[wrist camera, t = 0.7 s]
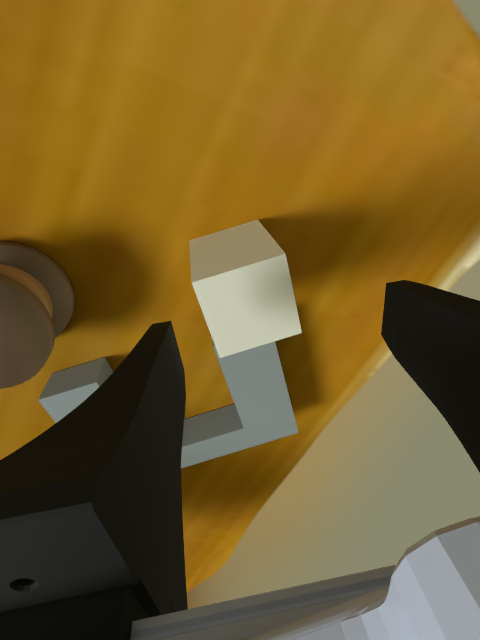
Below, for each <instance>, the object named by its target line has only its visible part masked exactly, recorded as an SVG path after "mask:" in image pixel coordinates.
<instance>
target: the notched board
mask: <svg viewBox="0 0 480 640" xmlns="http://www.w3.org/2000/svg"><path fill="white" fill-rule="evenodd" d="M212 342H213V347H214V350H215V353H216V355H217V358H218V361H219V363H220V366H221V369H222V371H223V374H224V377H225V379H226V382H227V385H228V387H229V390H230V393H231V395H232V398H233V401H234V403H235V404H233V405H229V406H226V407H223V408H220V409H216V410H213V411H210V412H206V413H203V414H200V415H197V416H193V417H190V418H187V419H184V428H183V441H182V454H181V468H185V467H188V466H191V465H194V464H198V463H201V462H204V461H208V460H211V459H214V458H217V457H221V456H224V455H227V454H230V453H234V452H237V451H240V450H243V449H247V448H250V447H253V446H257V445H260V444H263V443H266V442H270V441H273V440H276V439H279V438H283V437H286V436H289V435H293V434H296V433H299V432H298V428H297V425H296V421H295V417H294V413H293V409H292V405H291V401H290V398H289V394H288V390H287V386H286V382H285V378H284V374H283V370H282V367H281V363H280V359H279V355H278V351H277V347H276V343H275V341H274V342H271V343H268V344H264V345H261V346H258V347H255V348H251V349H248V350H245V351H242V352H238V353H235V354H232V355H229V356H225V357H222V358H219V355H218V352H217V349H216V347H215V344H214V341H213V339H212ZM112 373H113V370H112V369H111V367H110V365H109V364H108V362H107V360H106V358H105V357H104V358H100V359H97V360H94V361H91V362H87V363H84V364H81V365H78V366H74V367H71V368H68V369H65V370H61V371H58V372H55V373H52V375H51V377H50V378H49V380H48V382H47V384H46V386H45V388H44V390H43V392H42V394H41V396H40V398H39V402H40V403H41V404H42V406H43V407H44V408H45V410H46V411H47V412H48V413H49V415H50V416H51V417H52V419H53V420H54V421H55V422H56V423H57V422H58V421H60V420H61V419H62V418H63V417H65V416H66V415H67V414H69V413H70V412H71V411H72V410H74V409H75V408H76V407H77V406H79V405H80V404H81V403H82V402H83V401H85V400H86V399H87V398H88V397H89V396H90V395H91V394H92V393H93V392H94V391H96V390H97V389H98V388H99V387H100V386H101V385H102V384H103V383H104V382H105V381H106V380H107V379H108V378H109V376H110V375H111V374H112Z"/></svg>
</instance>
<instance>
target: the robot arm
mask: <svg viewBox="0 0 480 640" xmlns="http://www.w3.org/2000/svg"><path fill="white" fill-rule="evenodd" d="M381 335H382V337H383V338H384V340H385V342H386V344H387V345H388V347H389V349H390V350H391V352H392V354H393V355H394V357H395V358H396V359H397V361H398V362H399V363H400V364H401V366H402V367H403V368H404V369H405V370H406V372H407V373H408V374H409V375H410V377H411V378H413V380H414V381H415V382H416V383H417V385H418V386H419V387H420V388H421V390H422V391H423V392H424V393H425V394H426V396H427V397H428V398H429V399H430V400H431V401H432V403H433V404H434V405H435V406H436V407H437V409H438V410H439V411H440V413H441V414H442V415H443V417H444V418H445V419H446V421H447V422H448V424H449V425H450V427H451V428H452V430H453V431H454V433H455V434H456V436H457V437H458V439H459V440H460V441H461V443H462V445H463V446H464V448H465V450H466V451H467V453H468V454H469V456H470V458H471V459H472V461H473V462H474V464H475V466H476V467H477V469H478V470H479V472H480V301H478V300H475V299H471V298H468V297H464V296H461V295H458V294H454V293H451V292H448V291H444V290H441V289H438V288H434V287H431V286H428V285H424V284H420V283H416V282H412V281H407V280H402V281H396V282H390V283H386V292H385V302H384V312H383V322H382V332H381ZM185 400H186V391H185V374H184V368H183V364H182V360H181V356H180V353H179V349H178V345H177V341H176V338H175V334H174V330H173V327H172V323H171V321H168V322H162V323H156V324H152V325H151V326H150V328H149V329H148V330H147V332H146V333H145V334H144V335H143V337H142V338H141V339H140V341H139V342H138V343H137V345H136V346H135V347H134V348H133V350H132V351H131V352H130V354H129V355H128V356H127V357H126V358H125V360H124V361H123V362H122V363H121V364H120V365H119V366H118V367H117V369H116V370H115V371H114V372H113V373H112V374H111V375H110V376H109V378H108V379H107V380H106V381H105V382H104V383H103V384H102V385H101V386H100V387H99V388H98V389H97V390H96V391H94V392H93V393H92V394H91V395H90V396H89V397H88V398H87V399H86V400H85V401H83V402H82V403H81V404H80V405H79V406H77V407H76V408H75V409H74V410H72V411H71V412H70V413H69V414H67V415H66V416H65V417H63V418H62V419H61V420H60V421H58V422H57V423H56V424H54V425H53V426H52V427H50V428H49V429H48V430H46V431H45V432H43V433H42V434H41V435H39V436H38V437H36V438H35V439H33V440H32V441H30V442H29V443H27V444H26V445H24V446H23V447H21V448H19V449H18V450H16V451H15V452H13V453H12V454H10V455H8V456H7V457H5V458H3V459H2V460H0V640H480V517H475V518H470V519H467V520H464V521H461V522H459V523H455V524H453V525H450V526H447V527H444V528H441V529H438V530H435V531H433V532H432V533H430V534H429V535H427V536H426V537H424V538H423V539H421V540H420V541H418V542H417V543H415V544H414V545H412V546H411V547H409V548H408V549H407V550H406V551H405V553H404V554H403V556H402V557H401V559H400V560H399V562H398V563H397V565H393V566H388V567H383V568H378V569H374V570H369V571H364V572H360V573H355V574H350V575H346V576H341V577H336V578H332V579H327V580H322V581H318V582H313V583H309V584H304V585H299V586H294V587H290V588H286V589H281V590H276V591H271V592H266V593H262V594H257V595H253V596H248V597H243V598H238V599H234V600H229V601H224V602H220V603H215V604H211V605H206V606H202V607H197V608H192V609H188V607H187V592H186V578H185V560H184V541H183V519H182V493H181V454H182V441H183V428H184V415H185Z"/></svg>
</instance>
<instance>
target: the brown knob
mask: <svg viewBox="0 0 480 640" xmlns="http://www.w3.org/2000/svg"><path fill="white" fill-rule="evenodd" d="M74 308H75V294H74V290H73V287H72V284H71V282H70V280H69V278H68V276H67V275H66V273H65V272H64V271H63V269H62V268H61V267H60V266H59V265H58V264H57V263H56V262H55V261H54V260H53V259H51V258H50V257H49V256H47V255H46V254H44V253H43V252H41V251H39V250H37V249H35V248H33V247H30V246H28V245H25V244H21V243H17V242H10V241H0V389H1V388H8V387H12V386H15V385H18V384H21V383H23V382H25V381H27V380H29V379H30V378H32V377H33V376H35V375H36V374H37V373H38V372H39V371H40V370H41V368H42V367H43V366H44V364H45V362H46V361H47V359H48V357H49V355H50V353H51V351H52V349H53V346H54V341H55V338H56V337H57V336H58V335H59V334H60V333H61V332H62V331H63V330H64V329H65V327H66V326H67V324H68V322H69V321H70V319H71V317H72V315H73V312H74Z"/></svg>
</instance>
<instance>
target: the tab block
mask: <svg viewBox="0 0 480 640" xmlns="http://www.w3.org/2000/svg"><path fill="white" fill-rule="evenodd" d="M189 248H190V263H191V278H192V285H193V287H194V290H195V293H196V295H197V298H198V301H199V304H200V306H201V309H202V312H203V314H204V317H205V320H206V322H207V325H208V328H209V331H210V333H211V336H212V339H213V341H214V344H215V347H216V349H217V352H218V355H219V358H222V357H225V356H229V355H232V354H235V353H238V352H242V351H245V350H248V349H251V348H255V347H258V346H261V345H264V344H268V343H271V342H274V341H277V340H281V339H284V338H287V337H290V336H294V335H297V334H300V333H302V331H301V326H300V321H299V316H298V312H297V307H296V302H295V297H294V292H293V287H292V282H291V278H290V273H289V268H288V263H287V258H286V254H285V252H284V251H283V250H282V249H281V248H280V246H279V245H278V244H277V243H276V241H275V240H274V239H273V238H272V236H271V235H270V234H269V233H268V231H267V230H266V229H265V228H264V227H263V225H262V224H261V223H260V222H259V220H255V221H251V222H248V223H245V224H242V225H238V226H235V227H232V228H229V229H225V230H222V231H219V232H216V233H212V234H209V235H206V236H203V237H199V238H196V239H193V240H190V241H189Z"/></svg>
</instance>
